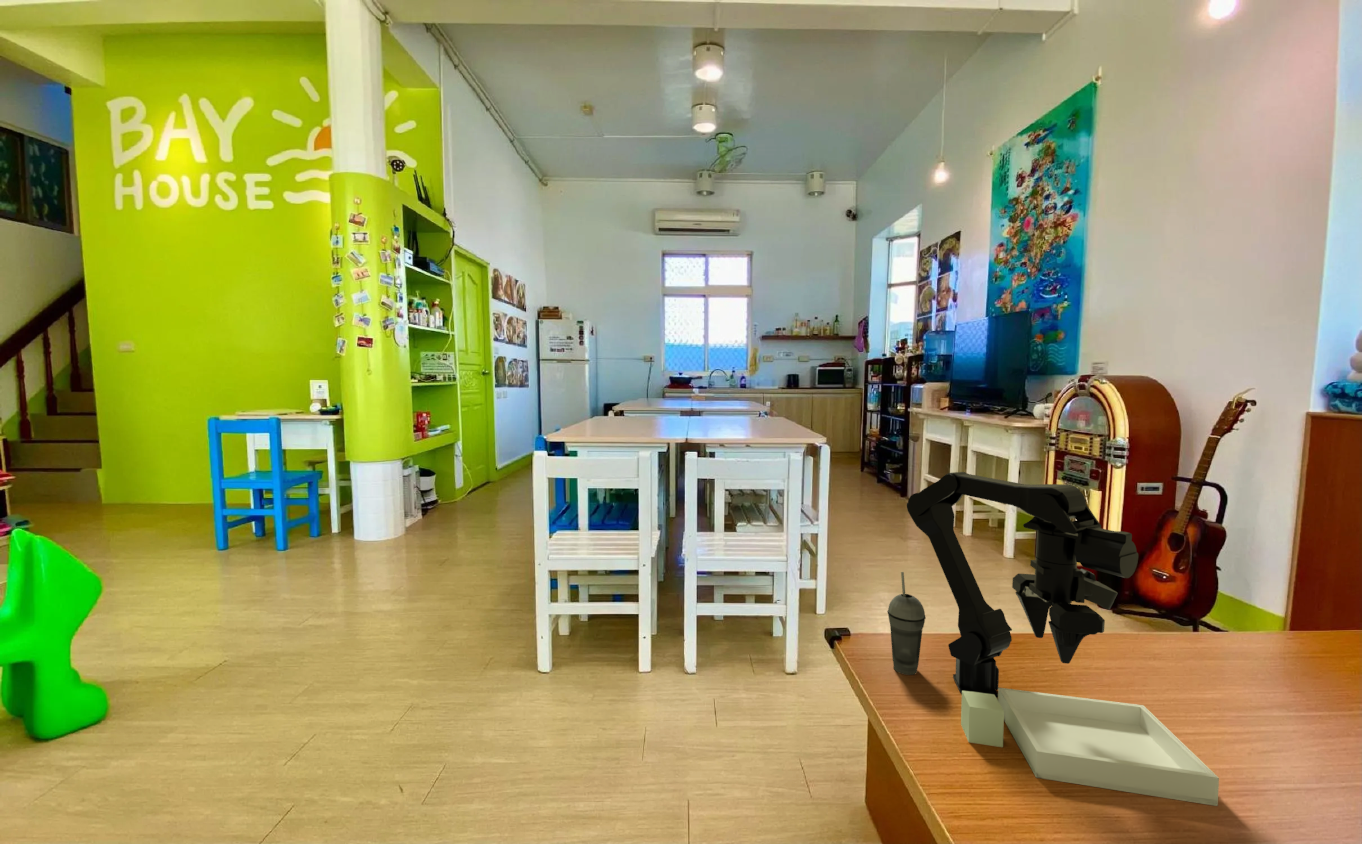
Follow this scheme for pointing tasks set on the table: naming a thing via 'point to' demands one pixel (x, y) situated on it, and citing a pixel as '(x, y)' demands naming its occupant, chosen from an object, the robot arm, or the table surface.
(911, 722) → the table surface
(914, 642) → the beverage cup
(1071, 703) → the bin
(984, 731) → the sage block
